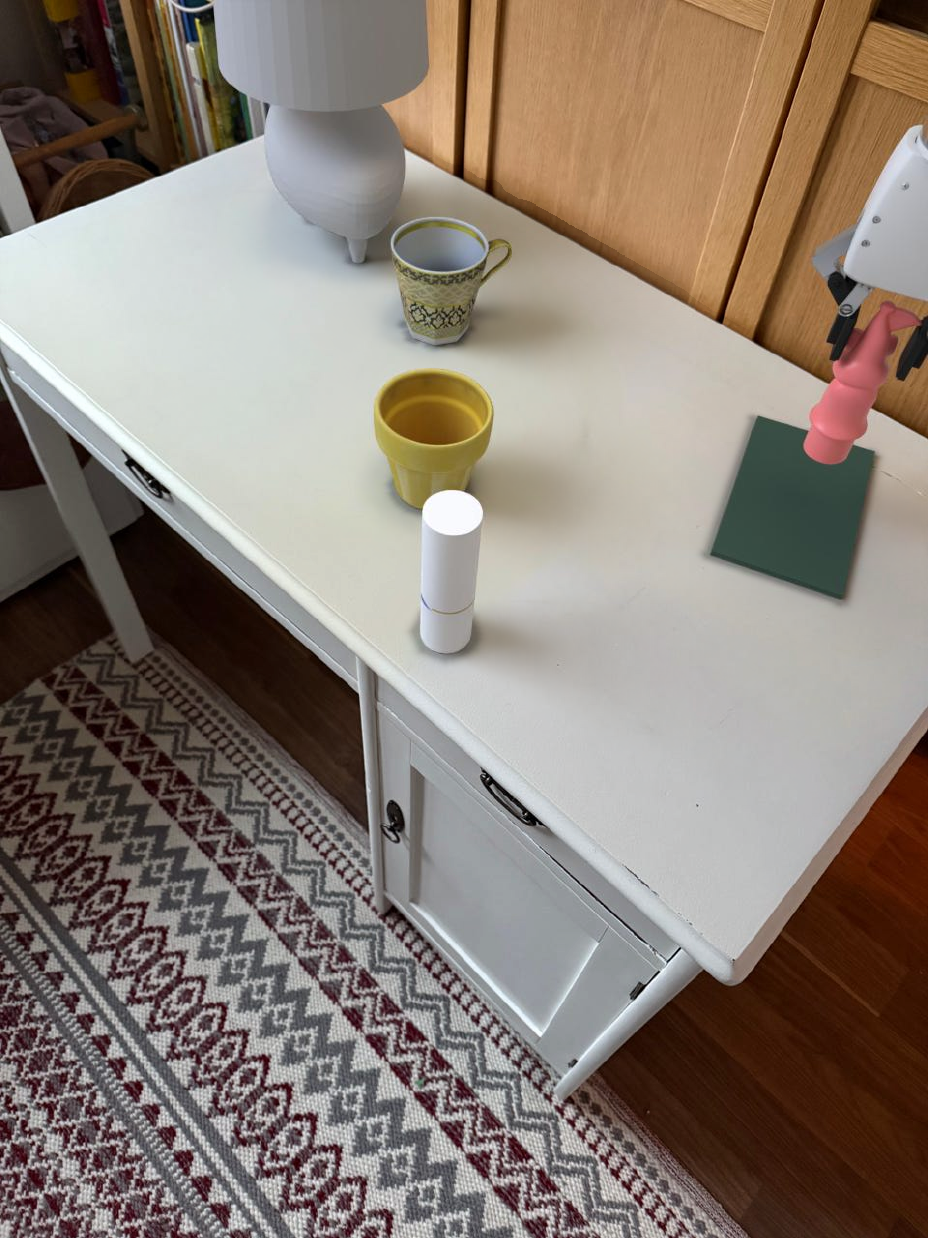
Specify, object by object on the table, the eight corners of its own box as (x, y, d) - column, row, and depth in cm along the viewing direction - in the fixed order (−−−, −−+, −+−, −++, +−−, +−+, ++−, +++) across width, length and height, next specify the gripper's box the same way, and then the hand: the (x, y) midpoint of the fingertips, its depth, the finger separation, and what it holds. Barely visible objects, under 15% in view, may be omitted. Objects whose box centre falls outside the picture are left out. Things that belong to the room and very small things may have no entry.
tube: (480, 626, 77) (494, 506, 65) (453, 662, 75) (462, 544, 62) (438, 603, 78) (443, 481, 66) (410, 637, 76) (410, 517, 64)
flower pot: (476, 442, 90) (483, 362, 82) (494, 521, 84) (503, 443, 76) (371, 450, 88) (368, 369, 80) (382, 530, 82) (380, 452, 74)
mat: (872, 455, 92) (874, 450, 91) (840, 599, 81) (843, 595, 80) (756, 419, 94) (757, 414, 93) (709, 555, 83) (711, 550, 82)
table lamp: (459, 266, 106) (482, -173, 74) (283, 307, 100) (223, -152, 68) (384, 169, 118) (376, -248, 85) (222, 200, 112) (146, -236, 79)
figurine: (856, 435, 82) (928, 288, 70) (855, 473, 79) (929, 328, 67) (799, 423, 83) (860, 277, 71) (795, 461, 80) (858, 315, 68)
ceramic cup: (406, 363, 96) (406, 279, 88) (380, 306, 101) (378, 223, 93) (520, 342, 99) (531, 260, 91) (489, 288, 104) (496, 206, 96)
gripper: (1123, 137, 59) (979, 364, 74) (862, 77, 62) (774, 305, 77) (1124, 193, 55) (971, 421, 70) (845, 125, 58) (755, 357, 73)
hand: (869, 358), depth 73 cm, fingers closed on figurine, 4 cm apart
